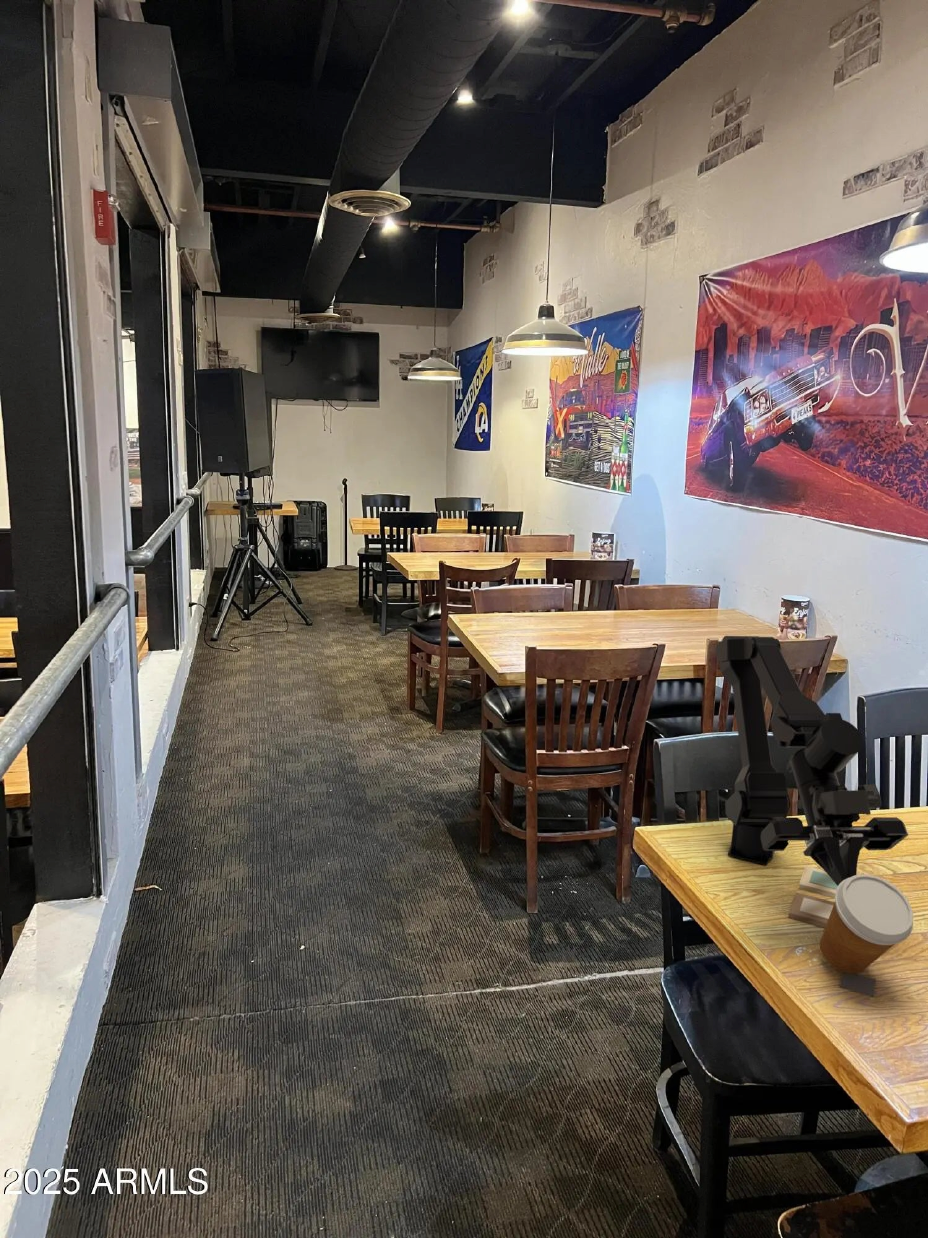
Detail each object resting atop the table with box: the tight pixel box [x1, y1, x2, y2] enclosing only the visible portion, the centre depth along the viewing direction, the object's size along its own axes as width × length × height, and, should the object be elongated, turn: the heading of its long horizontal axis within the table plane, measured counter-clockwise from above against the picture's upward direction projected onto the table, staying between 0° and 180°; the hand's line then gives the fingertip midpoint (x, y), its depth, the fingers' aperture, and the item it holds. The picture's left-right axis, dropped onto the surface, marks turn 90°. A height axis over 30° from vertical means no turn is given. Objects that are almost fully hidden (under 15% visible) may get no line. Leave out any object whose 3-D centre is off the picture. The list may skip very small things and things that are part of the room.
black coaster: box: [839, 972, 877, 998], centre depth 110 cm, size 4×4×1 cm
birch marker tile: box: [798, 865, 838, 899], centre depth 135 cm, size 7×7×1 cm
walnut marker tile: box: [787, 891, 835, 929], centre depth 127 cm, size 7×7×1 cm
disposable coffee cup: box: [819, 873, 914, 974], centre depth 110 cm, size 10×10×12 cm
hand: (850, 895), depth 113 cm, fingers closed, pressing on disposable coffee cup
